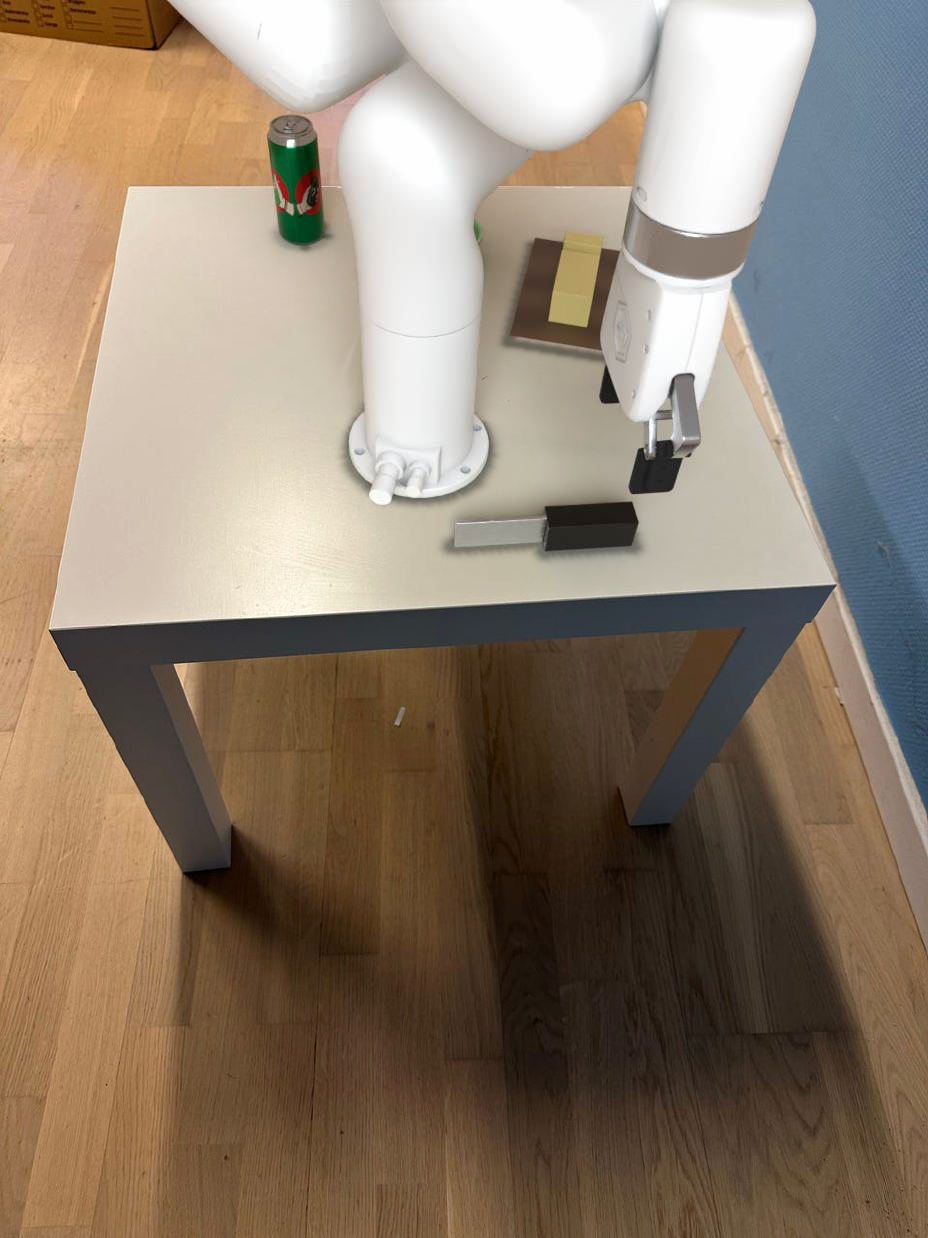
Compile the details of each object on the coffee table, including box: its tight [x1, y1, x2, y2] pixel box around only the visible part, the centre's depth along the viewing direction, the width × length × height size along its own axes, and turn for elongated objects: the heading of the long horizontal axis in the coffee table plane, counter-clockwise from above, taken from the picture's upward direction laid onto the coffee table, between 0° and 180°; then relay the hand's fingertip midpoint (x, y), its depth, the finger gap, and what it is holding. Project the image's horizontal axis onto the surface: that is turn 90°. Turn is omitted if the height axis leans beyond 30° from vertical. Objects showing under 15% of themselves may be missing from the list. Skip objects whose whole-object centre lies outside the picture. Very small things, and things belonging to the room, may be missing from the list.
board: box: [509, 237, 621, 352], centre depth 95 cm, size 18×11×1 cm, turn 169°
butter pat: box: [563, 230, 604, 255], centre depth 96 cm, size 2×4×4 cm, turn 79°
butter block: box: [548, 250, 600, 327], centre depth 92 cm, size 8×4×4 cm, turn 169°
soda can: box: [266, 114, 326, 246], centre depth 95 cm, size 5×5×12 cm
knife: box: [453, 500, 640, 552], centre depth 74 cm, size 15×2×3 cm, turn 97°
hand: (633, 443), depth 67 cm, fingers open, 9 cm apart
